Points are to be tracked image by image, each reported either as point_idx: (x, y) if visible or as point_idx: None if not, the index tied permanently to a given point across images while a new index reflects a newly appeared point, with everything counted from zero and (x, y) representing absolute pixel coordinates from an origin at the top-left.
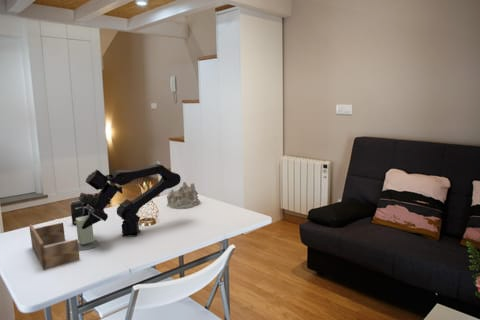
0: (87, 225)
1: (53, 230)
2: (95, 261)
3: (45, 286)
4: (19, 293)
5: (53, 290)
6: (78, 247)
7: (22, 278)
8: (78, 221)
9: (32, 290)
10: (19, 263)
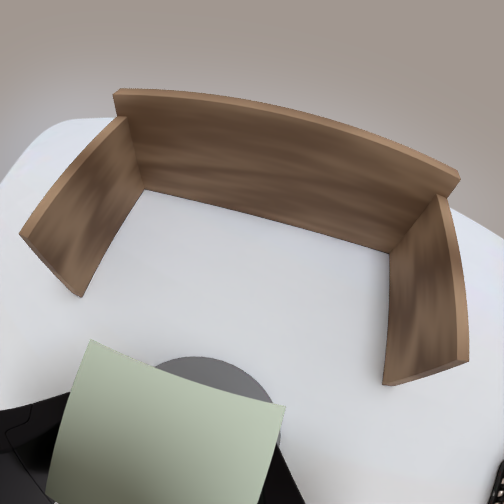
0: None
1: (431, 305)
2: (11, 314)
3: (60, 155)
4: (97, 121)
5: (33, 161)
6: (192, 376)
7: None
8: (109, 349)
9: (78, 136)
10: None
